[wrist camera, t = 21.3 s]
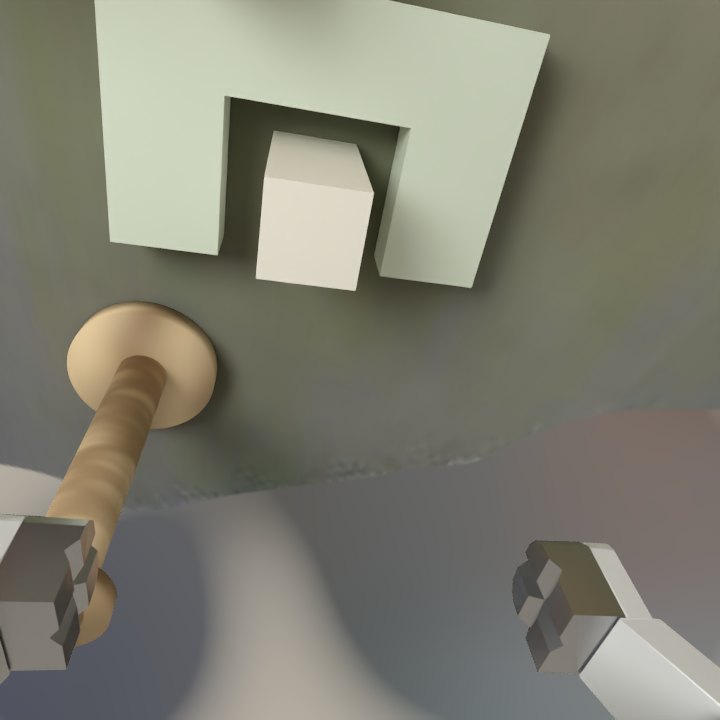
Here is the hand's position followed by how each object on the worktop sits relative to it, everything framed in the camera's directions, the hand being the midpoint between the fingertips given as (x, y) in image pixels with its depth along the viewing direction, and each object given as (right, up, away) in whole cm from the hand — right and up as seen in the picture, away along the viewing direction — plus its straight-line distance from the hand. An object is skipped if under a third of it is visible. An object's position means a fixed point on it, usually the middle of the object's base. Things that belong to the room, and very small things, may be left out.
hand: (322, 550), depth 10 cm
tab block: (-2, +14, +21) cm, 25 cm away
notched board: (-2, +16, +20) cm, 25 cm away
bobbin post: (-13, +3, +27) cm, 30 cm away
